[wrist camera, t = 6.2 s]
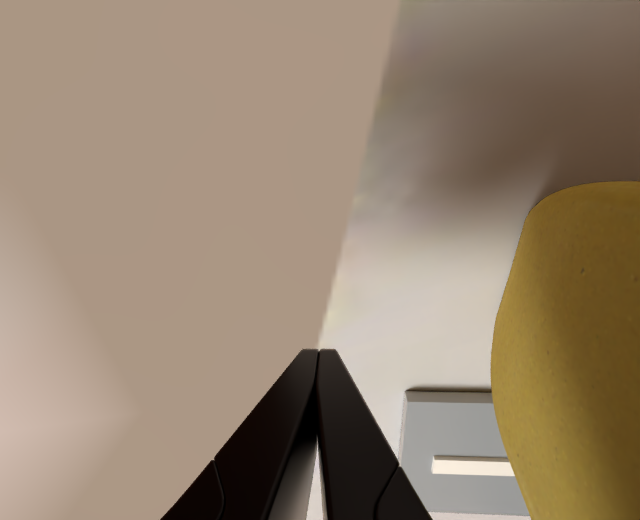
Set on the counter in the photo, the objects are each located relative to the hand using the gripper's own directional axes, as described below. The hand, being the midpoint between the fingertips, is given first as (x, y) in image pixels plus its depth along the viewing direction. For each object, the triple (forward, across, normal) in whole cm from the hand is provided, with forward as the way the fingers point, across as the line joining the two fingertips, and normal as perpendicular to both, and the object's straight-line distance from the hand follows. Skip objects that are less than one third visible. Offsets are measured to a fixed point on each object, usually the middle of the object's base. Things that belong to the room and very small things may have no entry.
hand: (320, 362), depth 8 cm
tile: (+5, -7, +10) cm, 13 cm away
